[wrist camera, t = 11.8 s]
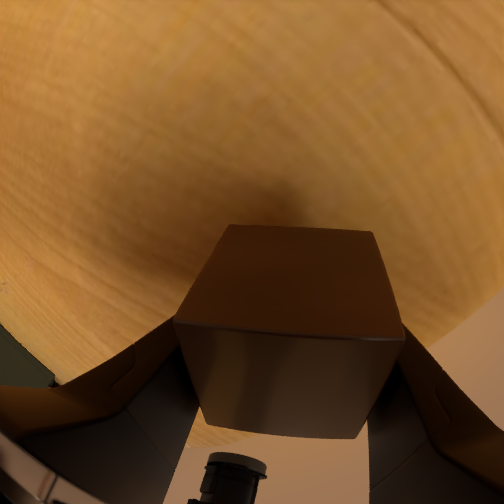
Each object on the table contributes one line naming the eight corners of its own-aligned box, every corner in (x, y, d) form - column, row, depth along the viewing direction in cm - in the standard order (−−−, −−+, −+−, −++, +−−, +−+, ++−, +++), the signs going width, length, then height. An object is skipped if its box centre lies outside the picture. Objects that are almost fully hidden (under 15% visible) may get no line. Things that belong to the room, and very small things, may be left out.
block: (372, 230, 8) (408, 338, 5) (352, 335, 10) (356, 440, 7) (228, 222, 9) (169, 319, 5) (238, 327, 11) (205, 425, 8)
